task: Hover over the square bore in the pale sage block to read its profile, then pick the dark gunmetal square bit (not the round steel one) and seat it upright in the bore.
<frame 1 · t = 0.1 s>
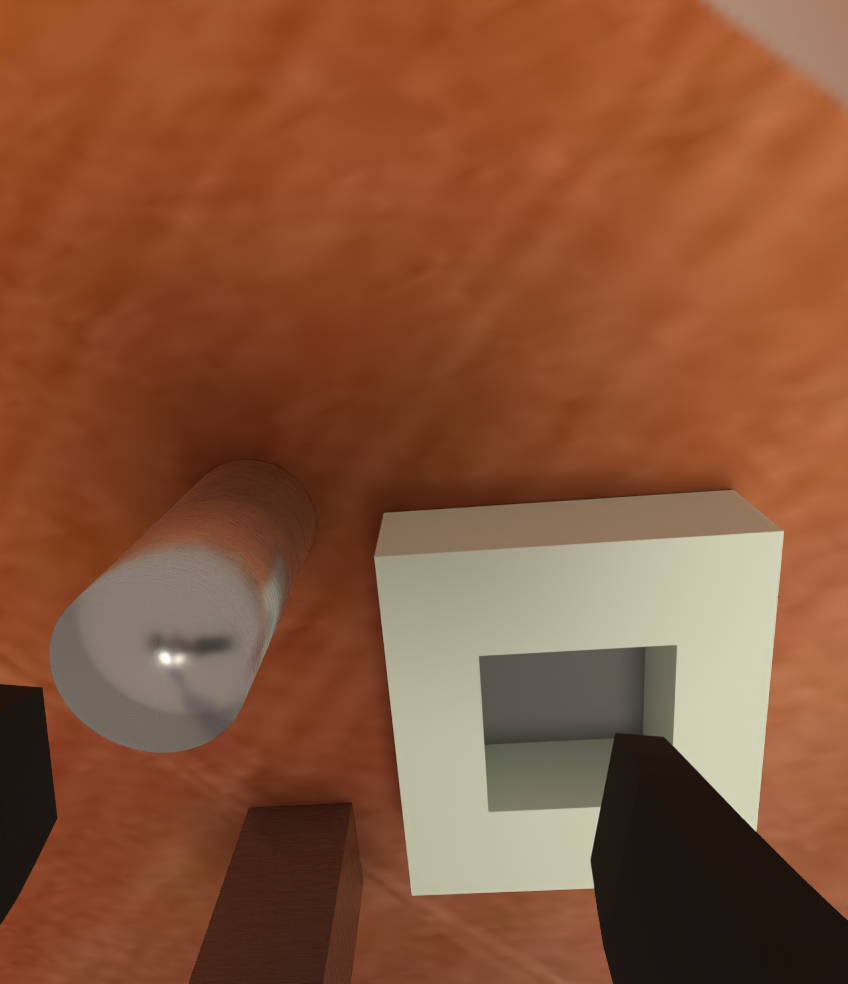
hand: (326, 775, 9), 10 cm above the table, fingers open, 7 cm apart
square bit: (307, 846, 22), on the table
bore block: (560, 668, 20), on the table
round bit: (252, 521, 19), on the table
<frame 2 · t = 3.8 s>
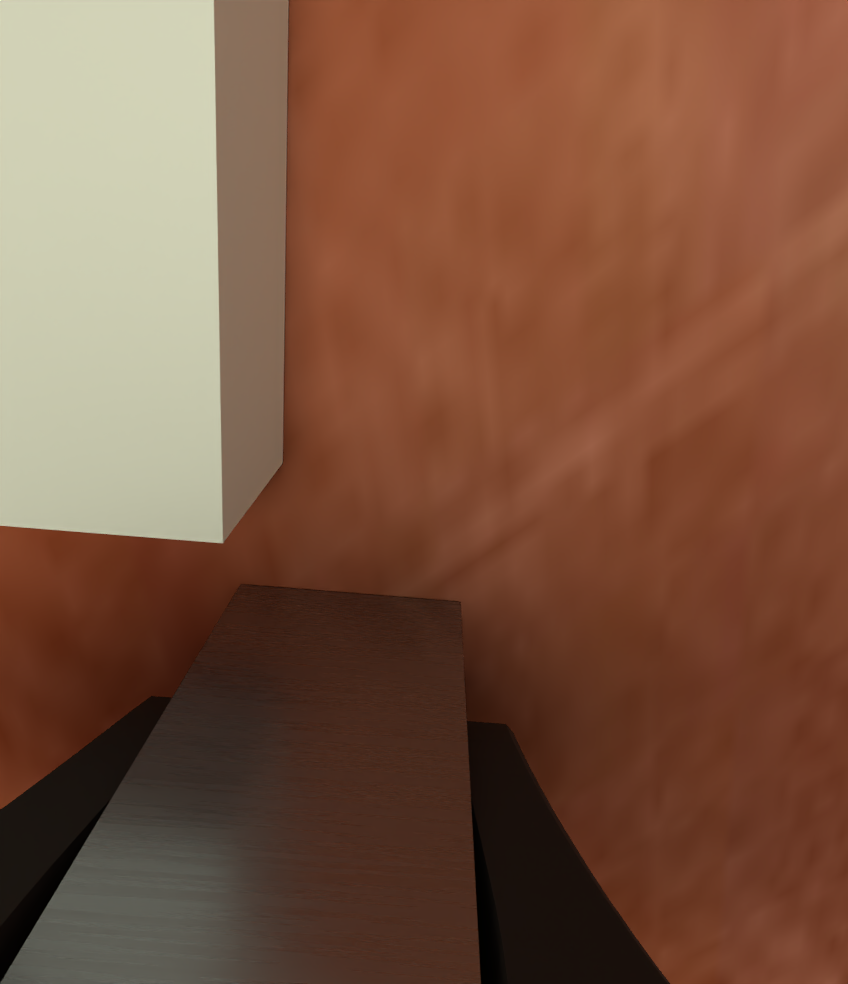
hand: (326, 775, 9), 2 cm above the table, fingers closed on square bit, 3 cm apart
square bit: (345, 687, 11), on the table, touching gripper
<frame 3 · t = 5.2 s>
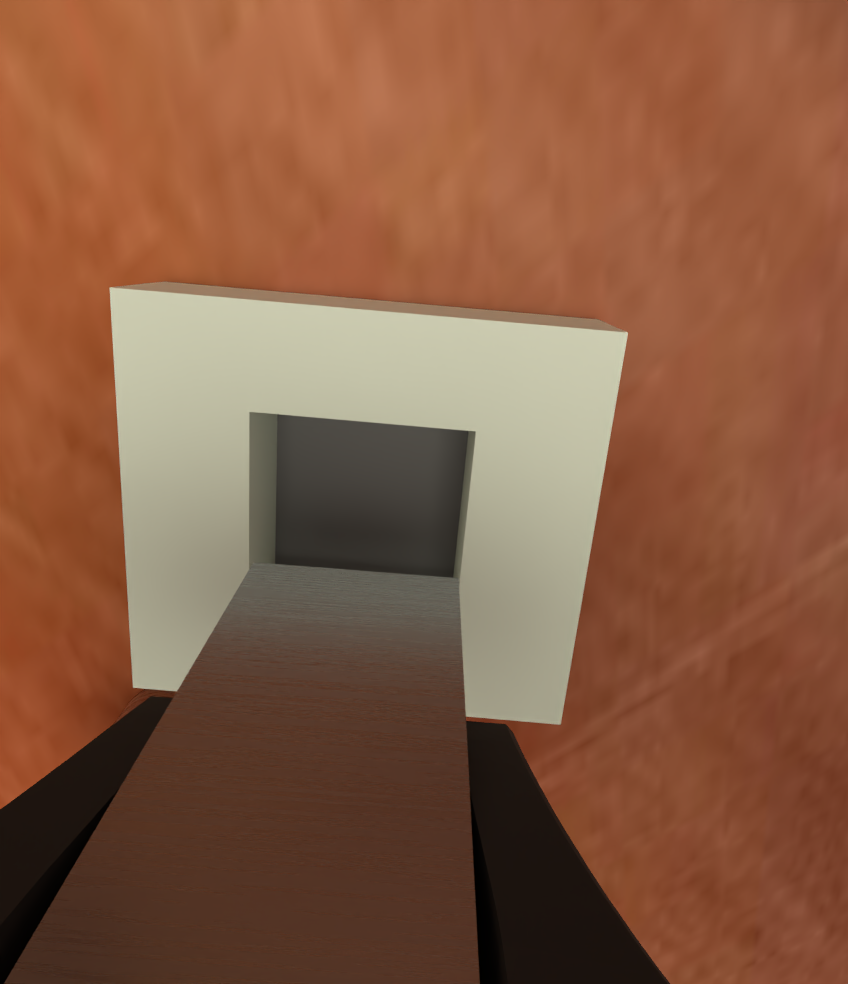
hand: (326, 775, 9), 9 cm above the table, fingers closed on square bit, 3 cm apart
square bit: (351, 659, 12), point 7 cm above the table, touching gripper
bore block: (369, 485, 18), on the table
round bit: (179, 735, 20), on the table
when the fingers open (4 cm above the table, at t = 6.7 s): square bit stays where it is, resting on bore block.
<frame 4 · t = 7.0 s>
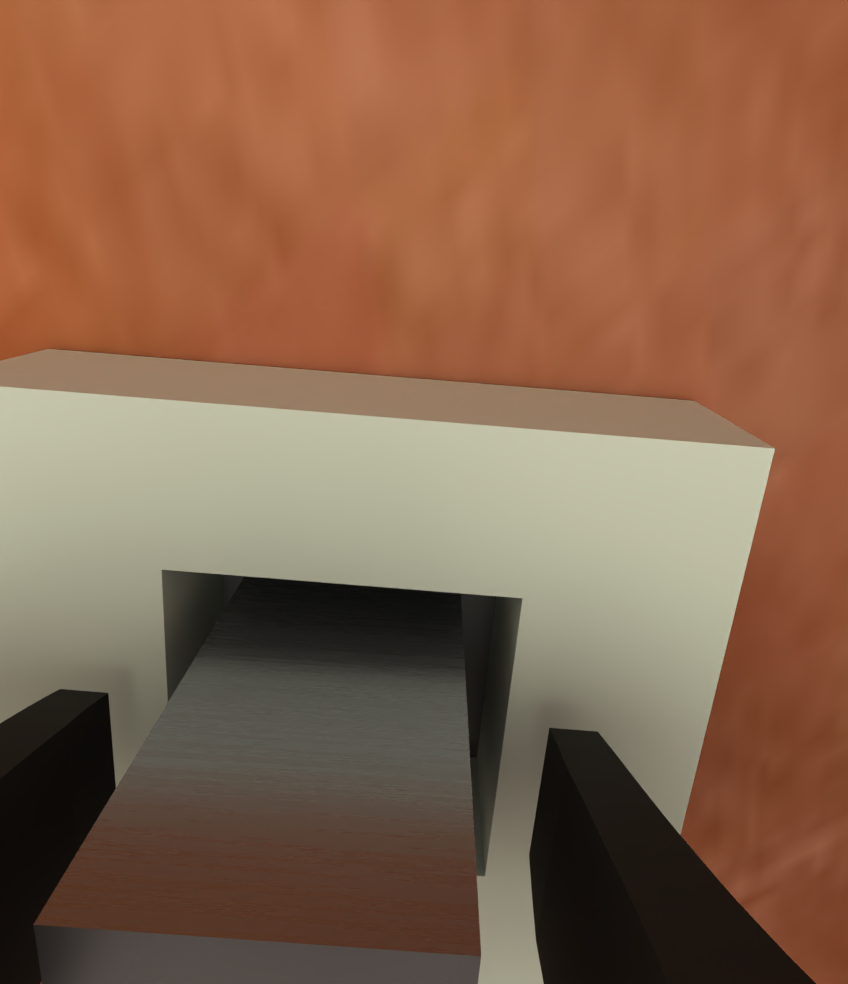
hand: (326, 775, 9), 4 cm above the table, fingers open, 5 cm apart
square bit: (358, 634, 12), resting on bore block
bore block: (358, 631, 12), on the table
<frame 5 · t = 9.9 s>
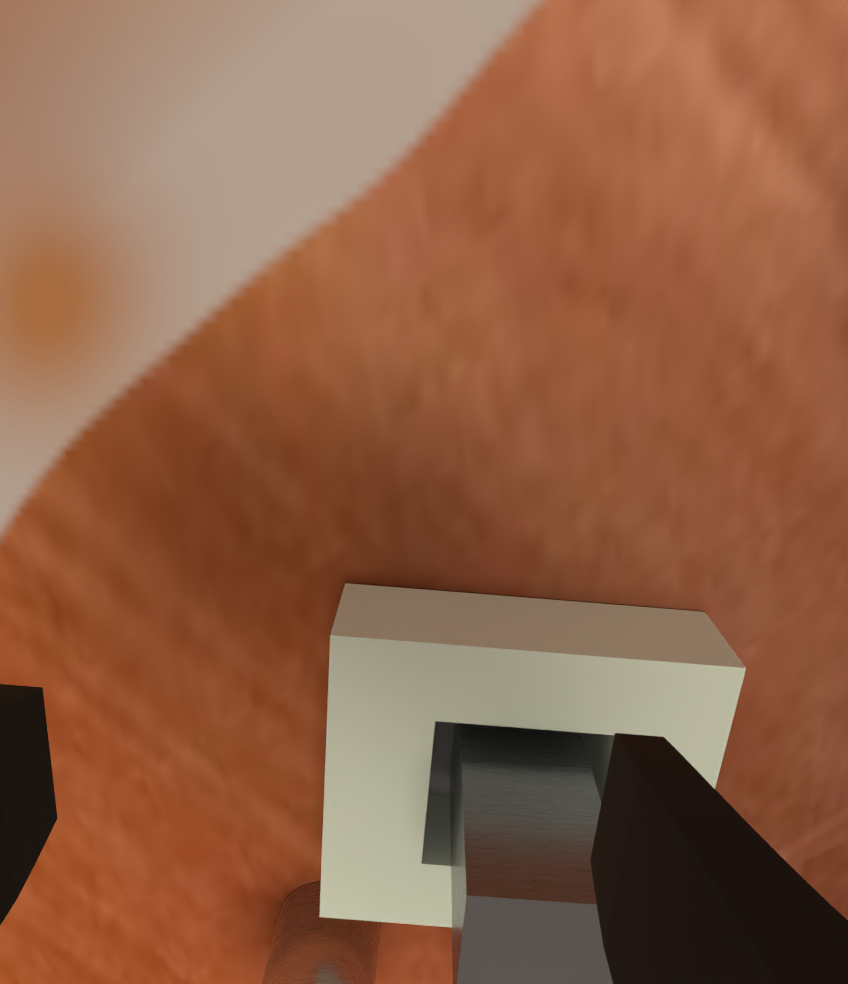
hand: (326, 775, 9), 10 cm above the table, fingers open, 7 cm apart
square bit: (508, 736, 21), resting on bore block
bore block: (506, 733, 21), on the table
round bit: (330, 920, 24), on the table
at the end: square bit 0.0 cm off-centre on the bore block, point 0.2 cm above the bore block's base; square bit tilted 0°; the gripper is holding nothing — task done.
